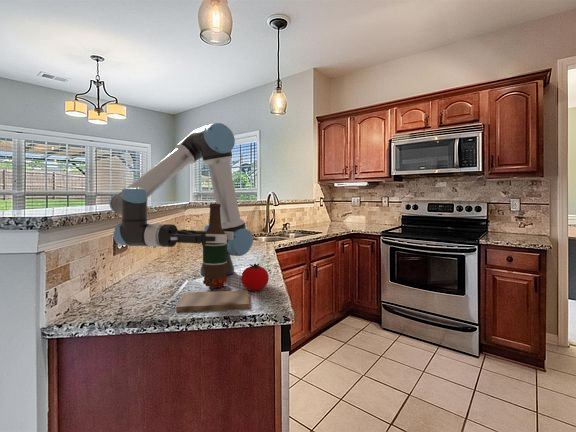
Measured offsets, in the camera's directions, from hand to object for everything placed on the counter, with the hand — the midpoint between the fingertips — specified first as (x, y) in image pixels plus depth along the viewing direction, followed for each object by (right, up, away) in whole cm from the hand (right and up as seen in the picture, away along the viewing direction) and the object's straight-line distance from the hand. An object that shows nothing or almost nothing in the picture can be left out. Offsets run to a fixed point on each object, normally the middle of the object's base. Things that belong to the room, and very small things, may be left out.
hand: (229, 237), depth 99 cm
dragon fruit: (-9, -21, +18) cm, 29 cm away
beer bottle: (-5, -13, +1) cm, 14 cm away
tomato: (+7, -21, +16) cm, 27 cm away
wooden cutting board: (-5, -22, +2) cm, 23 cm away
